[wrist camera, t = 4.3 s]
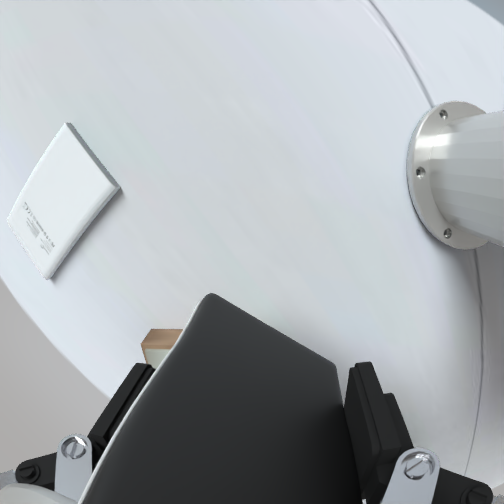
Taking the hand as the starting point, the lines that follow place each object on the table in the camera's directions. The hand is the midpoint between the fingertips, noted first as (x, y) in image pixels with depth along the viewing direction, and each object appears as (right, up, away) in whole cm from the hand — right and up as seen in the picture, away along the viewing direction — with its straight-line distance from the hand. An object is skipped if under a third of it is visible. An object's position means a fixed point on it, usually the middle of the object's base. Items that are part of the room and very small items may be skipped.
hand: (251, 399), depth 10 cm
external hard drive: (-18, +10, +13) cm, 24 cm away
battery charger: (0, +1, +3) cm, 3 cm away
